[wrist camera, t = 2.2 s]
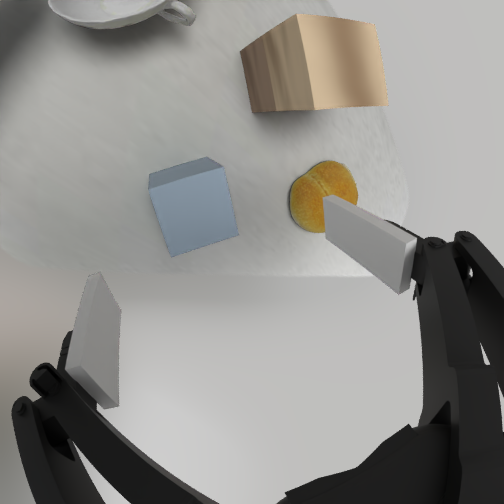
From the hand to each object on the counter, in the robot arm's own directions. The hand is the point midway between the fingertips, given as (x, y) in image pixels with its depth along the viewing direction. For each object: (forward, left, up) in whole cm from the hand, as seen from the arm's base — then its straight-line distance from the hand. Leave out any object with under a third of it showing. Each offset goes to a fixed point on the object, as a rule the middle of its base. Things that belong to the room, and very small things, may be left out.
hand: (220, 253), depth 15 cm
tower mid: (+12, +10, -9) cm, 18 cm away
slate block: (0, 0, -15) cm, 15 cm away
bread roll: (+15, -5, -15) cm, 22 cm away
